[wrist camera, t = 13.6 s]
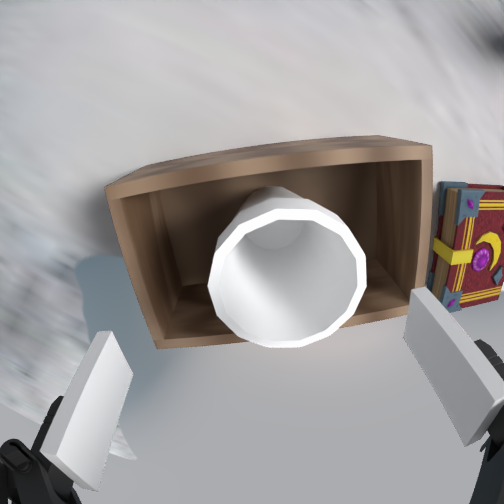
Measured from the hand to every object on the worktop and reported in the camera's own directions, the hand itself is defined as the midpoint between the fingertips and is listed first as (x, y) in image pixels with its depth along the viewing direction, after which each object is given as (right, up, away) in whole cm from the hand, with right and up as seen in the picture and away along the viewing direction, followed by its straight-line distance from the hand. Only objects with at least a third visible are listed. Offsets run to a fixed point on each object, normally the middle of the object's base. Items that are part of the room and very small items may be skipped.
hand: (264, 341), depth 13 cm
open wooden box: (+2, +7, +18) cm, 20 cm away
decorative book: (+27, +5, +20) cm, 34 cm away
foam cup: (+1, +7, +17) cm, 19 cm away
